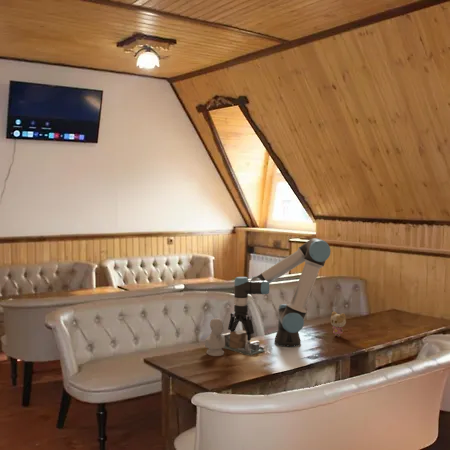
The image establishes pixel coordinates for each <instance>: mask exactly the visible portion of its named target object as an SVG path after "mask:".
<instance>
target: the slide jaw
mask: <svg viewBox="0 0 450 450" xmlns="http://www.w3.org/2000/svg"><path fill="white" fill-rule="evenodd" d="M260 344H261V343H260V341H259V340H253V341H250V342H249V343H245V349H246V350H250V351H251V350H259V346H260Z"/></svg>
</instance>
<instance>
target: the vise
mask: <svg viewBox="0 0 450 450" xmlns="http://www.w3.org/2000/svg"><path fill="white" fill-rule="evenodd" d="M221 335H222V336H224V337H225V347H224V348H223V349H225V350H230V351H233V352H236V353H240V354H243V355H246V356H253V355H257V354H261V353H264V352H265V347H264V346H262V345H261V346H260V345H259V350H251V351H250V350H246V349H245V347H243V348H239V347H238V349H237V348H233V347H230V332H227V333H221Z"/></svg>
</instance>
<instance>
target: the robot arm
mask: <svg viewBox="0 0 450 450" xmlns="http://www.w3.org/2000/svg"><path fill="white" fill-rule="evenodd" d="M330 256H331V247H330V245H329V244H328V242H327V241H326V240H323V239H321V238H317V237H313V238H311V239H309V240H307V241H306V242H304V243H303V244H302V245H300V246H299V247H298V248H297V250H296V251H294V252H293V253H291V254H290V255H288V256H286V257H285V258H283V259H281V260H280V261H278V262H277V263H275V264H274V265H272V266H271V267H269V268H267V269H266V270H264V271H263V272H261V273H259V274H258V275H256V276H253V277H251V279H250V280H249V278H248V277H247V276H236V277H235V278H234V283H233V285H234V287H233V288H234V289H233V290H234V295H233V296H234V299H233V300H234V308H233V311H234V312H231V313H230V319H229V323H228V328H227V330H229V331H230V332H234V331H236V330H237V327H238V324H239V322H241V324H243V327H244V331H246V333H247V334H246V343H249V342H251V340H252V334H254V333H255V332H254V331H255V330H254V326H253V318H252V315H248V310H249V309H248V308H249V306H248V304H249V299H248V298H249V297H248V296H249V295H268V294H270V284H271V283H272V282H274V281H276V280H278V279H279V278H280V277H283V276H284V275H285V274H287V273H289V272H290V271H291V270H293V269H295V268H296V267H298V266H300V265H301V264H303V263H304V265H303V268H302V271H301V274H300V276H299V279H298V282H297V284H296V287H295V290H294V293H293V295H292V297H291V301H290V302H289V303H287V304H286V303H283V304H279V306H278V321H277V322H278V324H277V331H276V334H275V336H274V344H276V345H278V346H281V347H288V348H289V347H291V348H292V347H298V346H300V345H301V342H302V340H301V338H300V337H301V336H300V333H299V332H300V331H301V330H302V329H303V327H304V324H305V317H306V315H307V310H306V307H307V304H308V301H309V298H310V296H311V293H312V290H313V288H314V285H315V282H316V280H317V277H318V275H319V272H320V269H321V268H324V266H325V264H326V261H327V260H328V259H329V258H330Z"/></svg>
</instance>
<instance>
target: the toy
mask: <svg viewBox="0 0 450 450" xmlns="http://www.w3.org/2000/svg"><path fill="white" fill-rule="evenodd" d="M346 323H347V319H346V314H345V313H337V312H336V311H332V312H331V316H330V325H332V328H331V329H332V330H333V332H332V333H333V334H334V335H335V337H338V338H340V337H341V334H344V333H343V332H344V328H343V327H345V326H346Z"/></svg>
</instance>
